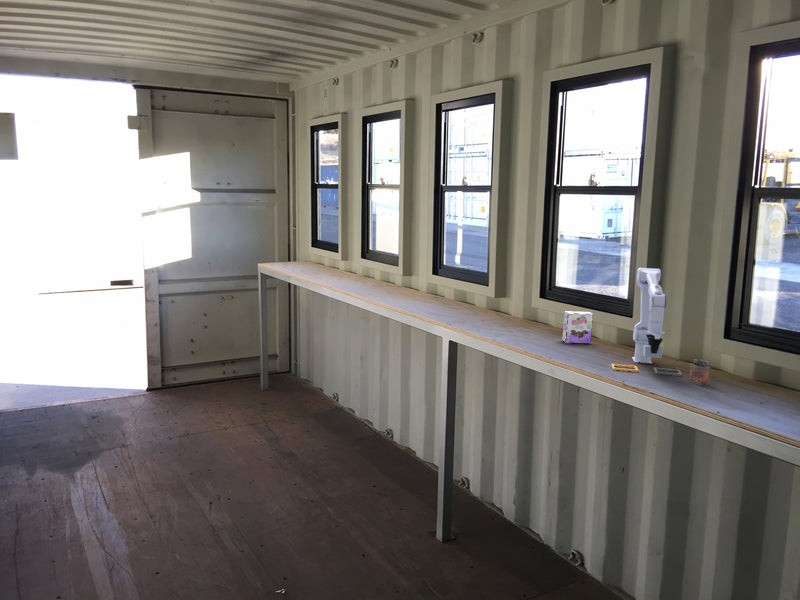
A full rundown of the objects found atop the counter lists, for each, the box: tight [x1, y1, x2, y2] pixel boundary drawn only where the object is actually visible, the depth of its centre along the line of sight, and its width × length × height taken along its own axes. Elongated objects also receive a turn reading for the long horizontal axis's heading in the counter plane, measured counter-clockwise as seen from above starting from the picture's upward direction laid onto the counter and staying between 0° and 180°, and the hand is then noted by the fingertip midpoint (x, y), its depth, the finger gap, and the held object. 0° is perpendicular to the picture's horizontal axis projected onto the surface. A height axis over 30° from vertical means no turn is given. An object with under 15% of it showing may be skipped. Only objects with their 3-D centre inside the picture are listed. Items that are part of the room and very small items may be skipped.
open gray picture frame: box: [652, 367, 683, 377], centre depth 281 cm, size 8×11×1 cm
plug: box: [643, 343, 663, 359], centre depth 282 cm, size 4×7×5 cm, turn 78°
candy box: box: [561, 310, 594, 345], centre depth 337 cm, size 14×6×16 cm, turn 92°
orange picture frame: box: [610, 363, 639, 373], centre depth 285 cm, size 8×11×1 cm
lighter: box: [688, 358, 711, 386], centre depth 266 cm, size 8×3×10 cm, turn 40°
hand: (652, 351), depth 282 cm, fingers closed on plug, 4 cm apart
